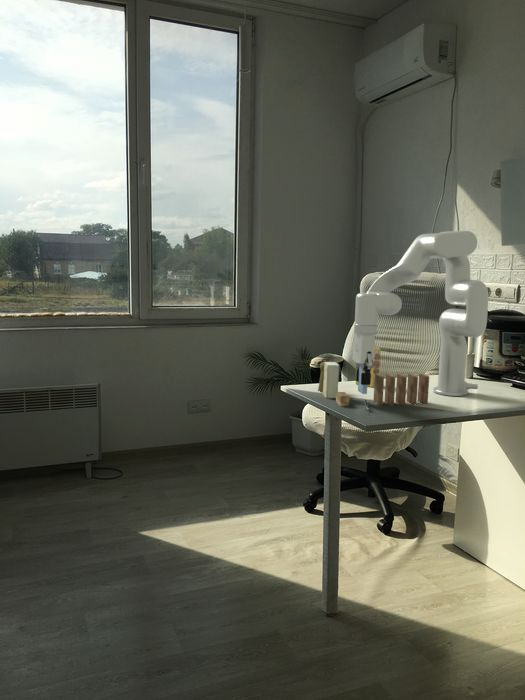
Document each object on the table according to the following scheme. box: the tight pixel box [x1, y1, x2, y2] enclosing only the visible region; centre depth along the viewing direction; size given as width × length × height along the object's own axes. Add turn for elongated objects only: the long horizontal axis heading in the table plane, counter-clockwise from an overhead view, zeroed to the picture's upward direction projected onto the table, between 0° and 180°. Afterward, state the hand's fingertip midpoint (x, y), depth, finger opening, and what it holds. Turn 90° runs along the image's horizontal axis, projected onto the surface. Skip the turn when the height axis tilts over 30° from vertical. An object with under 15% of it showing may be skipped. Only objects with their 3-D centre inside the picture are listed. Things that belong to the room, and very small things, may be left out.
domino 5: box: [406, 373, 419, 405], centre depth 204 cm, size 2×5×10 cm, turn 7°
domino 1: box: [357, 363, 368, 395], centre depth 201 cm, size 2×5×10 cm, turn 8°
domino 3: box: [384, 373, 396, 406], centre depth 203 cm, size 2×5×10 cm, turn 8°
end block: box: [335, 391, 350, 407], centre depth 201 cm, size 3×6×4 cm, turn 7°
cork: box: [317, 361, 326, 393], centre depth 220 cm, size 6×6×11 cm
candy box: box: [355, 346, 381, 388], centre depth 232 cm, size 9×4×15 cm, turn 39°
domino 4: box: [395, 373, 408, 406], centre depth 203 cm, size 2×5×10 cm, turn 8°
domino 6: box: [417, 373, 430, 405], centre depth 204 cm, size 2×5×10 cm, turn 8°
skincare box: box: [322, 361, 340, 399], centre depth 211 cm, size 6×4×12 cm
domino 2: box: [373, 373, 385, 406], centre depth 202 cm, size 2×5×10 cm, turn 7°
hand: (363, 382), depth 201 cm, fingers closed on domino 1, 4 cm apart
